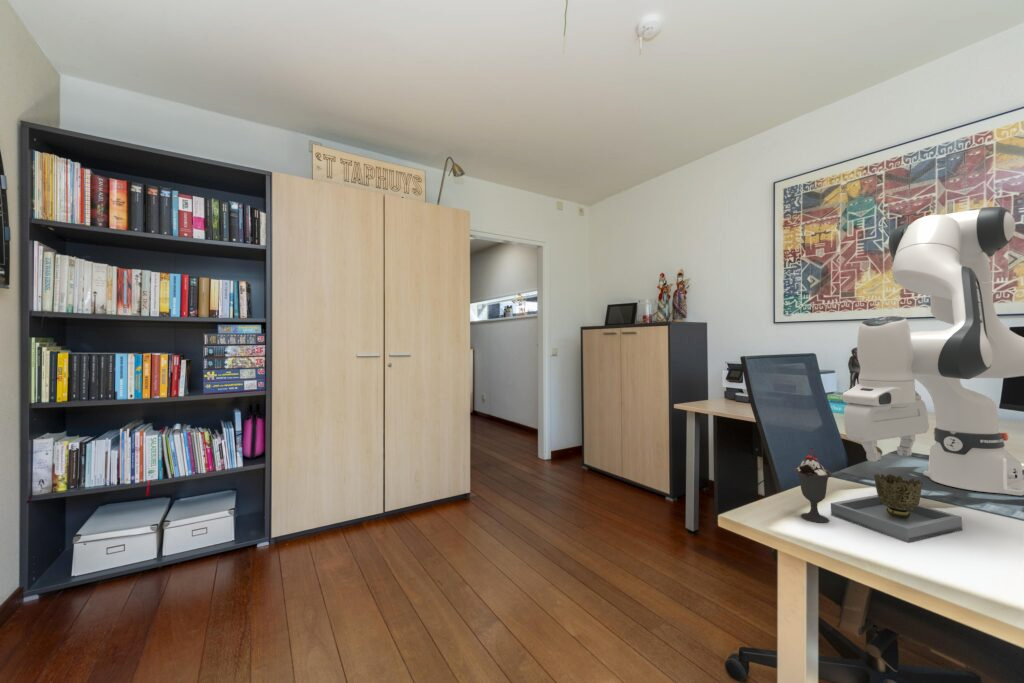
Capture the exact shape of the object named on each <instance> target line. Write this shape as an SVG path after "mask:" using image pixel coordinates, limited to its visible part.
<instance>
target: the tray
mask: <svg viewBox="0 0 1024 683" xmlns="http://www.w3.org/2000/svg"><path fill="white" fill-rule="evenodd" d="M887 508H888V507H887V506H885V505H884V504H883V503H882V502H881V501H880V500H879V498H878V495H877V494H875V495H868V496H863V497H856V498H851V499H846V500H841V501H835V502H830V515H831V516H833V517H835V518H836V517H837V518H839V519H842V520H844V521H847V522H850V523H852V522H853V523H852V524H855V523H856V525H858V524H859V525H858V526H860V527H863V528H867V529H869V530H872V531H874V532H877V531H878V533H880V532H881V533H880V534H883V533H884V535H886V534H887V535H886V536H889V535H890V536H889V537H891V536H892V537H891V538H894V537H895V539H898V540H901V541H903V542H905V541H906V543H908V544H909V543H914V542H917V541H920V540H925V539H930V538H933V537H938V536H943V535H947V534H951V533H955V531H956V532H960V531H963V520H962V519H963V517H962V516H960V515H956V514H953V513H949V512H946V511H942V510H938V509H934V508H931V507H928V506H924V505H920V504H919V505H918V507H917V508H916V509H914V510H912V511H909V512H910V517H909V518H898V517H894V516H891V515H890V514H888V513H887V510H886V509H887Z"/></svg>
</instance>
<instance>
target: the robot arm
mask: <svg viewBox="0 0 1024 683" xmlns="http://www.w3.org/2000/svg"><path fill="white" fill-rule="evenodd" d="M1015 231H1016V221H1015V219H1014V217H1013V215H1012V214H1011V212H1010V210H1008V209H1006V208H1005V207H1003V206H987V207H981V208H980V209H971V210H970V209H969V210H962V211H957V212H956V211H955V212H952V213H946V214H930V215H924V216H922V217H919V218H917V219H916V220H914V221H912V222H909V223H905V224H903V225H899V226H898V227H896V228H895V229H894V230H893V231H892V232H891V233H890V235H889V238H888V247H887V248H888V251H889V254H890V255H891V257H892V259H893V262H892V269H891V270H892V272H891V273H892V277H893V279H894V281H895V282H896V283H897V284H898V285H899V286H900V287H901V288H903V289H904V290H905V289H906V290H907V291H909V292H912V293H915V294H919V295H925V296H929V297H930V298H929V299H930V313H931V315H932V316H933V317H934V318H935V319H937V320H938V321H940V322H943V323H946V324H950V325H952V326H951V327H949V328H947V329H943V330H921V331H920V330H918V331H911V329H910V325H909V322H908V319H907V318H905V317H902V316H898V315H896V316H894V315H890V316H879V317H872V318H868V319H865V320H864V321H862V322H861V323H860V325H859V328H858V331H857V332H858V333H857V334H858V335H857V341H856V342H857V346H856V352H857V353H856V354H857V360H858V363H859V368H860V370H859V374H858V383H856V384H855V385H854V386H853V387H852V388H850V389H848V390H846V391H844V392H843V393H842V401H843V403H845V404H846V405H845V406H844V409H843V410H844V411H843V421H844V433H845V436H847V438H848V439H849V440H852V441H856V442H861V443H860V444H861V446H862V447H863V449H864V452H866V454H865V455H866V459H867V461H870V462H880V461H881V460H882V458H881V456H882V453H881V452H879V451H878V449H877V446H878V441H881V440H883V441H884V440H889V439H896V438H900V442H899V445H898V446H896V450H897V451H896V453H897V455H898V456H903V457H909V456H912V454H913V453H912V452H913V451H912V448H913V446H914V444H915V442H916V435H921V434H926V433H927V432H928V430H929V428H930V424H929V423H930V422H929V415H928V410H927V406H926V403H925V401H924V400H922V395H920V394H919V393H918V392H917V391H916V384H915V383H916V382H915V380H916V381H917V382H918V383H920V385H922V386H923V388H925V389H926V391H927V392H928V394H929V395H930V397H931V400H932V403H933V408H934V409H933V410H934V413H935V414H934V416H935V425H936V426H935V428H934V429H933V430H934V431H933V435H934V441H935V443H934V444H933V445H931V446H930V447H929V454H928V455H929V456H928V470H923V476H925V477H928V478H929V479H930V480H931V481H933V482H935V483H939V484H940V485H945V486H948V487H953V488H957V489H962V490H968V491H974V492H975V491H976V492H984V493H994V494H1006V495H1013V496H1024V476H1023V475H1024V473H1023V466H1022V462H1021V461H1020V460H1019V459H1018V458H1016V457H1015V456H1014V455H1013V454H1011V453H1010V452H1009V451H1008V450H1007V449H1005V442H1006V441H1008V440H1009V434H1008V433H1007V432H999V419H998V418H999V417H998V406H997V404H996V402H995V401H994V400H993V399H991V398H990V397H989V396H987V395H985V394H982V393H980V392H977V391H974V390H971V389H968V388H965V387H964V386H963V385H962V384H961V380H970V379H1008V378H1017V377H1024V337H1023V336H1021V335H1019V334H1017V333H1016V332H1014V331H1012V330H1011V329H1010V328H1008V327H1007V326H1006V325H1005V324H1004V323H1003V322H1002V321H1001V319H1000V318H999V316H998V315H997V312H996V308H995V304H994V297H993V286H992V285H993V283H992V281H993V280H992V270H991V266H990V261H989V258H990V257H993V256H994V255H995V253H996V252H997V251H1000V250H1002V249H1004V248H1005V247H1006V246H1007V245H1008V244H1010V243H1011V242H1012V238H1013V236H1014V234H1015ZM1004 441H1005V442H1004Z"/></svg>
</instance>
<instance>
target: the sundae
mask: <svg viewBox="0 0 1024 683" xmlns="http://www.w3.org/2000/svg"><path fill="white" fill-rule="evenodd" d="M810 449H811V453H810V454H809V455H806V458H804V459H803V460H802V461H801V464H800V465H799V466H797V468H794V469H793V470H794V472H796V474H797V475H798V479H799V485H800V490H801V494H802V496H803V497H804V498H805V499H806V500H807V501H809V503H810V509H809V510H810V511H809V512H804V513H803V512H802V513H801V514H800V517H801V518H802V519H804V520H806V521H808V520H809V521H808V522H813V523H819V524H825V523H828V522H830V520H829V518H828V517H826V516H824V515H821V514H820V513H819V509H818V504H819V503H820V502H822V501H824V499H826V494H827V489H828V488H827V487H828V480H829V478H831V477H833V474H832V472H831V471H829V470H828V469H825V467H824V466H823V465H822V464H820V462H819V460H818V458H816V454H815V451H814V446H813V447H811V446H810ZM812 455H813V456H812Z"/></svg>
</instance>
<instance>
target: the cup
mask: <svg viewBox="0 0 1024 683" xmlns="http://www.w3.org/2000/svg"><path fill="white" fill-rule="evenodd" d="M873 478H874V483H875V489H876V495H878V498H879V500H880V501H881V502H882V503H883V504H884V505H885V506H887V507H888V508H887V509H886V510H887V513H888V514H890V515H891V516H894V517H898V518H909V517H910V512H909V511H912V510H914V509H916V508H917V507H918V505H920V501H921V494H922V488H923V487H922V486H923V482H921V480H920V479H917V480H915V479H914V478H913V477H912V478H910V479H909V480H907V479H903V476H901V475H898V476H895V475H893V474H891V473H889V474H887V475H886V476H885V474H883V473H881V474H878V473H877V474H876V473H875V474H874V475H873Z"/></svg>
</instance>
